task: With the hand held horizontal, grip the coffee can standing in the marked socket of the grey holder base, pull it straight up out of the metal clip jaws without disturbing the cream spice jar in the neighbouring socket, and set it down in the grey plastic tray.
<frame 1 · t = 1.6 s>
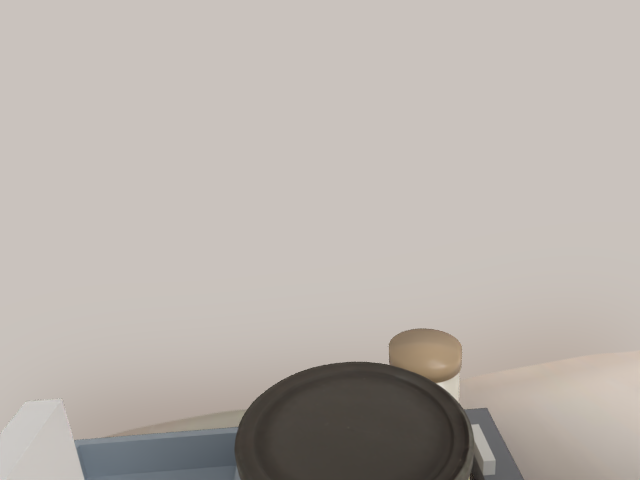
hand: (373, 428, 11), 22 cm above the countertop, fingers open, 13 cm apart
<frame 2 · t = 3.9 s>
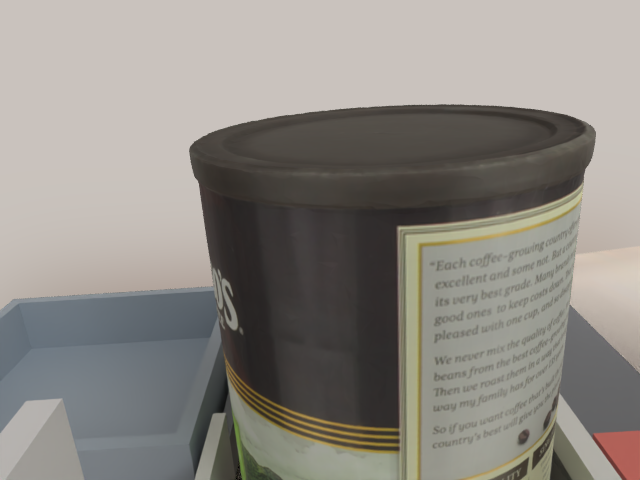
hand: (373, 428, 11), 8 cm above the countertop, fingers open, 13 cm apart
tray: (94, 417, 26), on the countertop
grey holder base: (434, 431, 23), on the countertop
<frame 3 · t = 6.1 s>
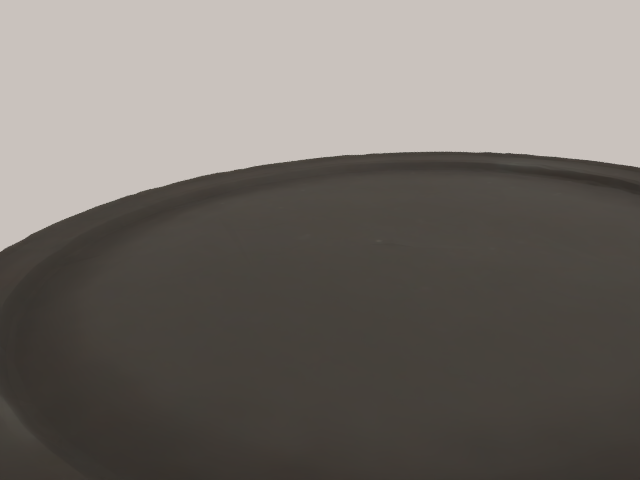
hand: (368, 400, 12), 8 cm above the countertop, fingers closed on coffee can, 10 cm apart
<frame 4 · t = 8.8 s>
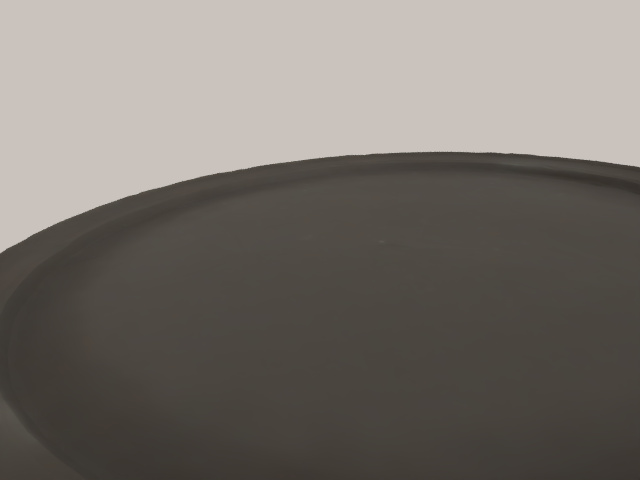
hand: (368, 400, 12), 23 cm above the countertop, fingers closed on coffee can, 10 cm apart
when the fingers open (10 cm above the countertop, at t = 12.0 s): coffee can stays where it is, resting on tray.
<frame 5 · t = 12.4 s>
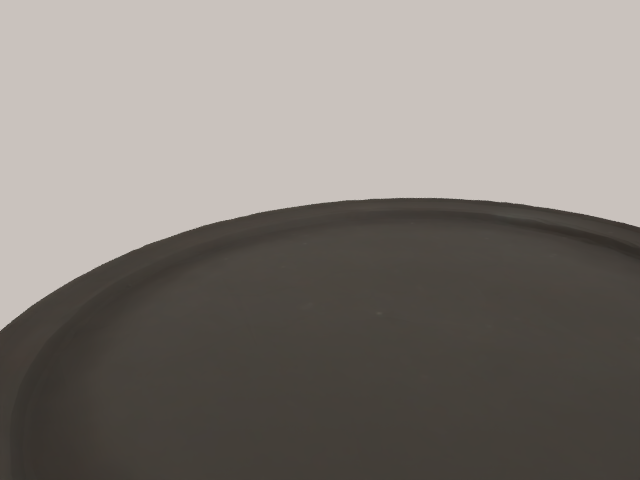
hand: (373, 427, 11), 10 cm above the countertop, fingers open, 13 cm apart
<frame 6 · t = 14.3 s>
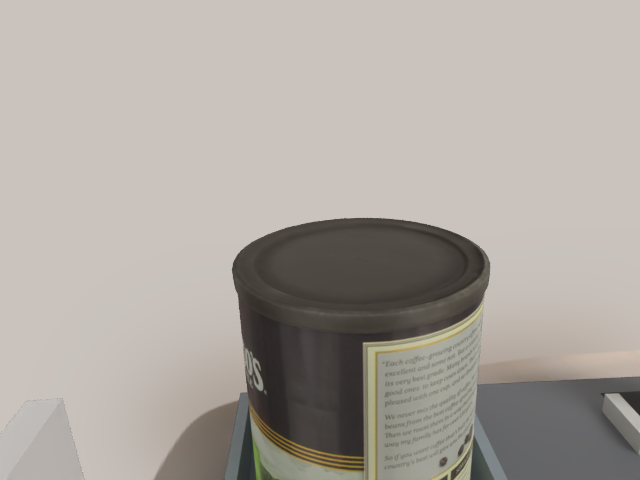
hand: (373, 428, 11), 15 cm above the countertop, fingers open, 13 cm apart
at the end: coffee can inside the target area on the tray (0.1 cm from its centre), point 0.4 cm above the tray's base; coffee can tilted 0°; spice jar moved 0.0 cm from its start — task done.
